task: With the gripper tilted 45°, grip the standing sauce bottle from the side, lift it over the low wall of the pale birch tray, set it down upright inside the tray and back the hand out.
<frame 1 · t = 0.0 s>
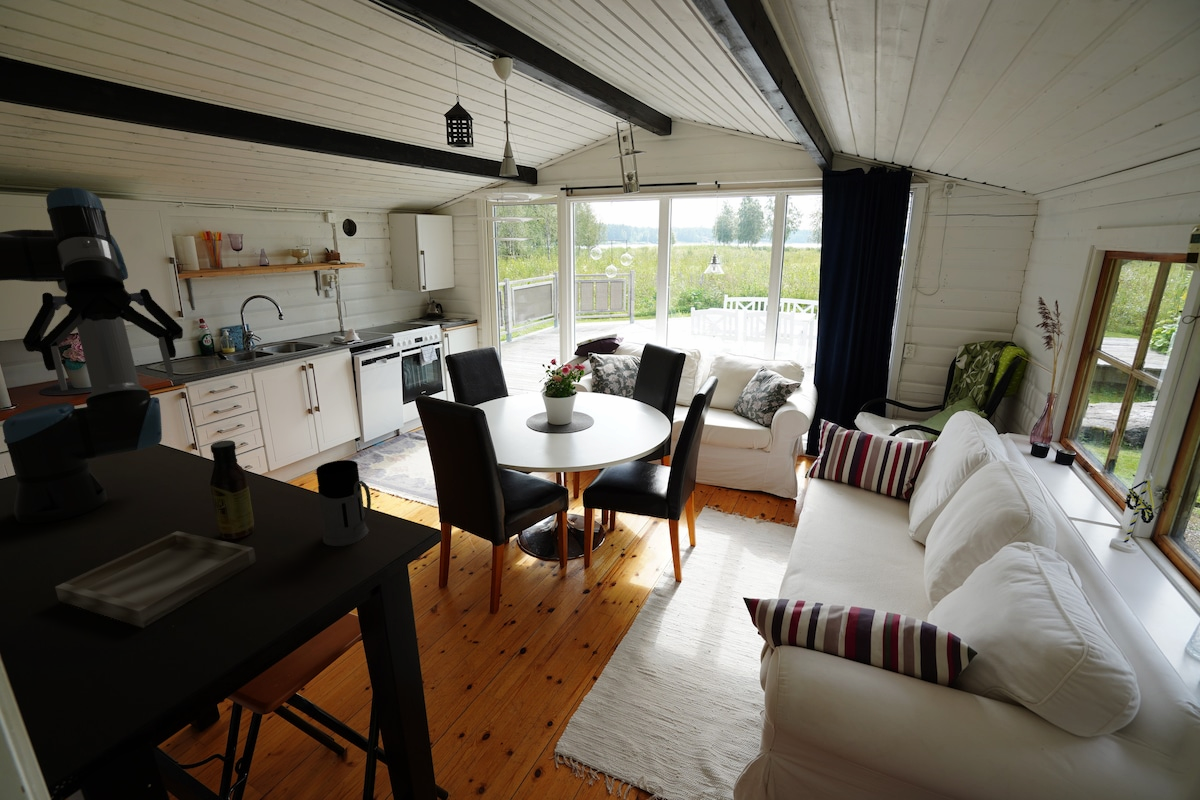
hand: (119, 380, 93), 36 cm above the table, tool tilted 35°, fingers open, 13 cm apart
sauce bottle: (238, 534, 116), on the table
glass holder: (353, 539, 114), on the table
birch tray: (163, 581, 100), on the table
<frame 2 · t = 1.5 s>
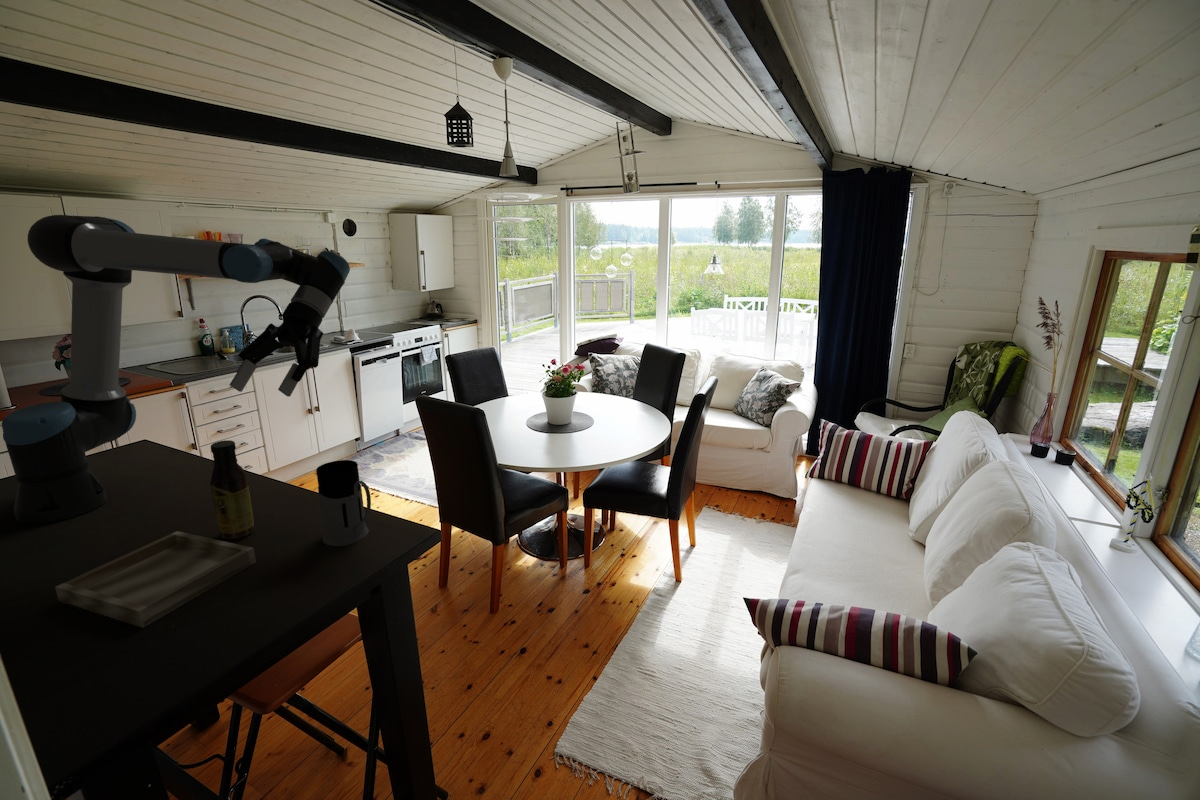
hand: (259, 390, 118), 28 cm above the table, tool tilted 45°, fingers open, 13 cm apart
nothing on the table moved.
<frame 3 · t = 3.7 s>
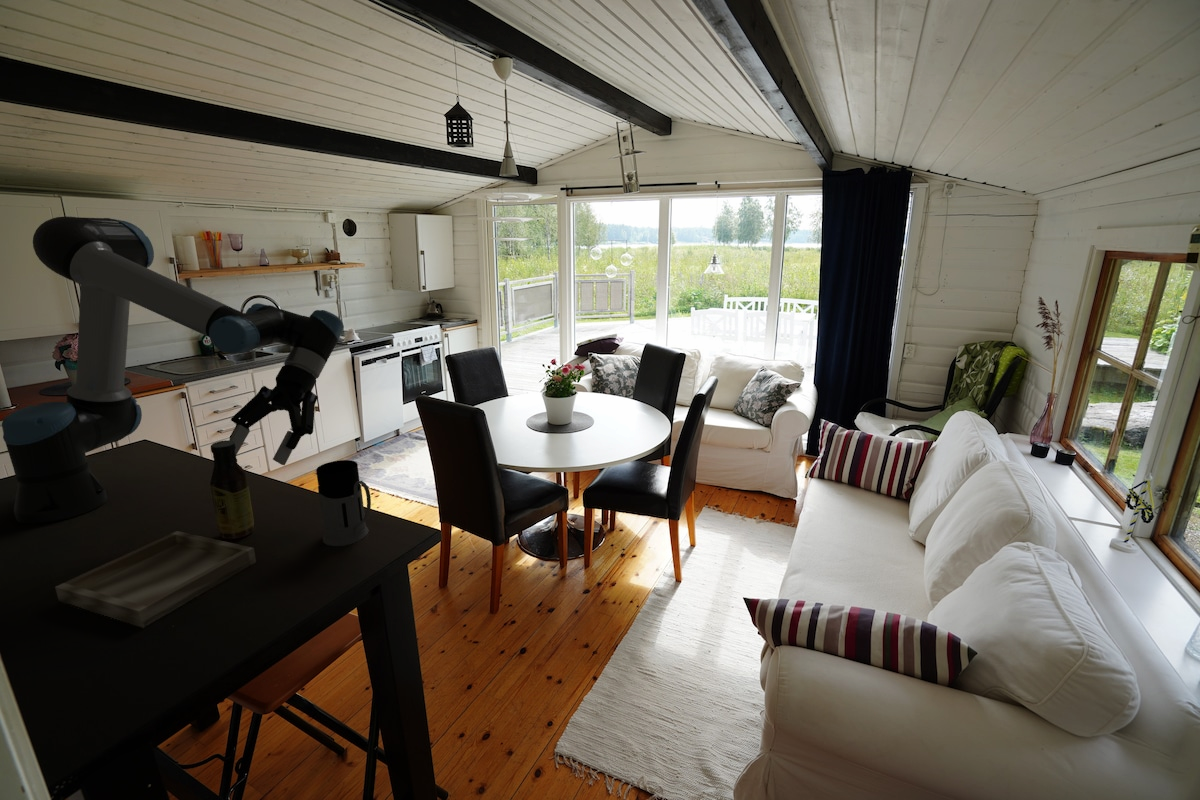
hand: (253, 458, 117), 15 cm above the table, tool tilted 45°, fingers open, 13 cm apart
nothing on the table moved.
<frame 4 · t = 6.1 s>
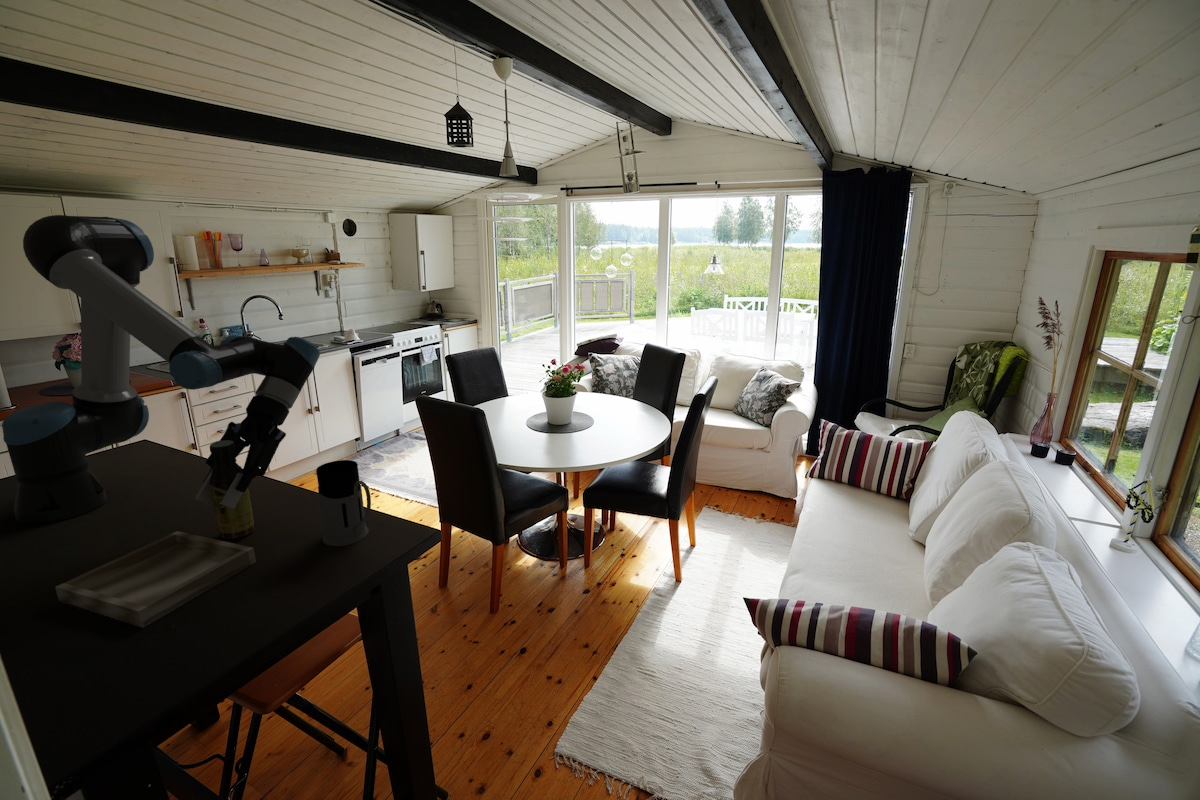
hand: (214, 503, 111), 8 cm above the table, tool tilted 45°, fingers closed on sauce bottle, 6 cm apart
sauce bottle: (238, 534, 116), on the table, touching gripper
everything else where it was.
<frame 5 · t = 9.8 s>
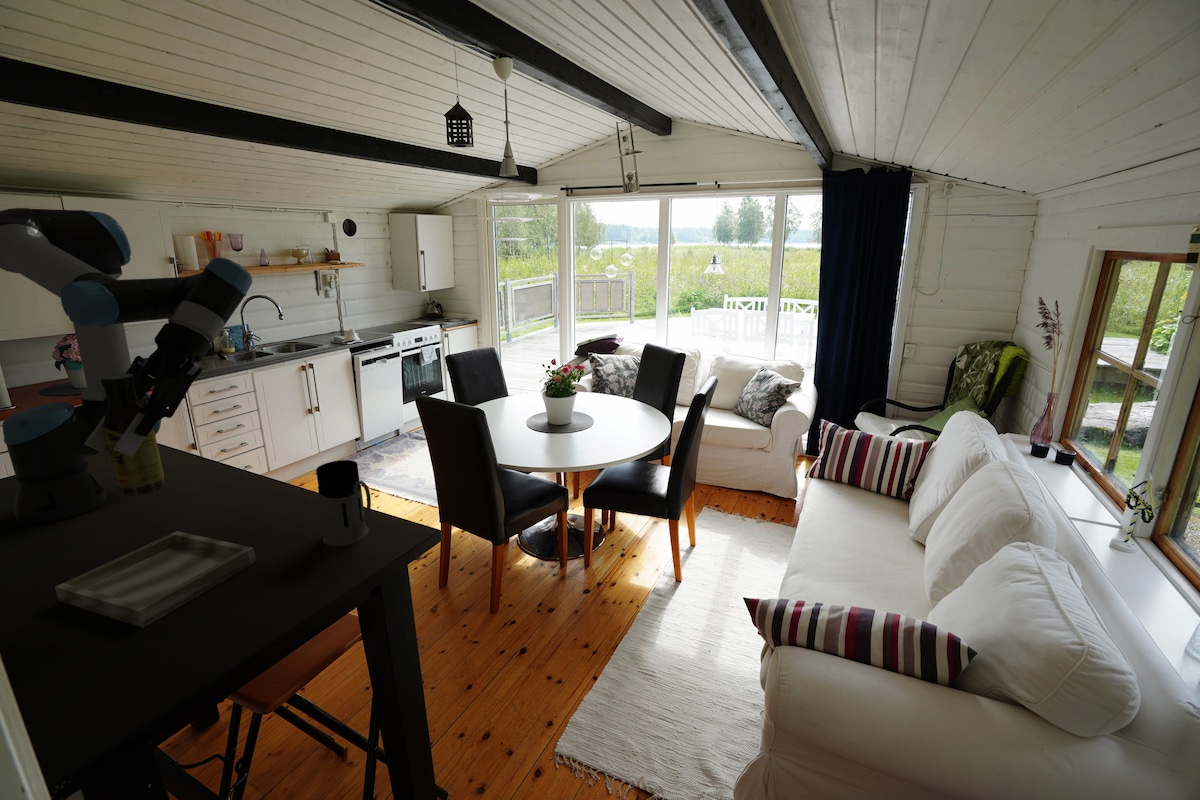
hand: (108, 450, 90), 26 cm above the table, tool tilted 45°, fingers closed on sauce bottle, 6 cm apart
sauce bottle: (144, 491, 95), point 17 cm above the table, touching gripper
everything else where it was.
when the fingers open (11 cm above the table, at t = 13.5 s): sauce bottle drops 1 cm, resting on birch tray.
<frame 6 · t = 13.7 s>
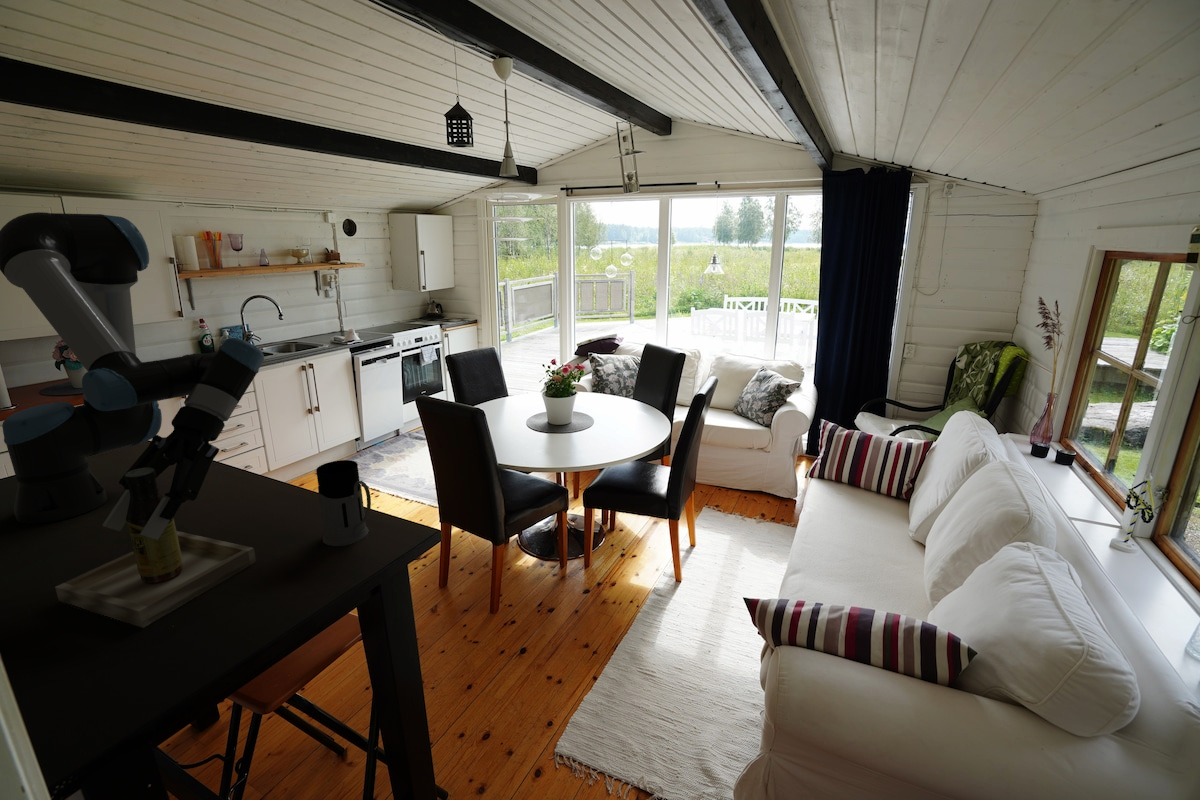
hand: (129, 532, 94), 11 cm above the table, tool tilted 45°, fingers open, 8 cm apart
sauce bottle: (163, 576, 100), point 1 cm above the table, touching birch tray
everything else where it was.
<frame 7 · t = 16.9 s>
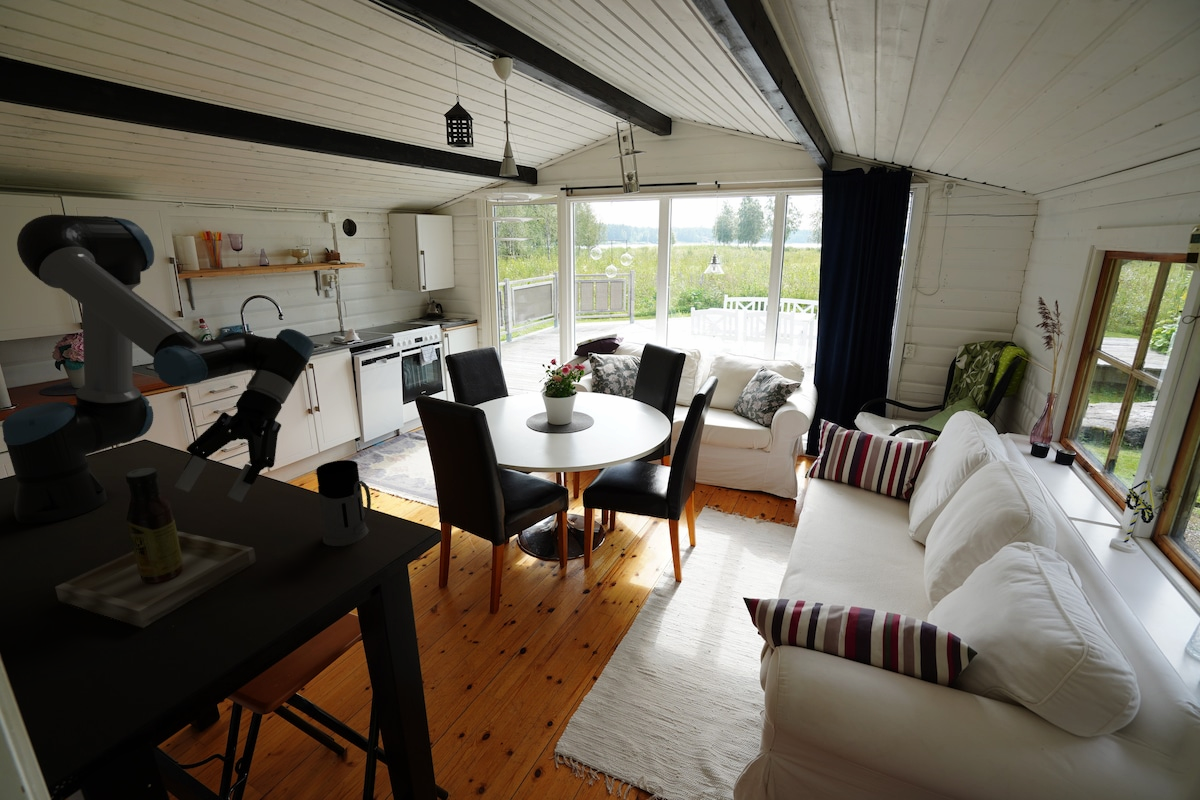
hand: (207, 494, 106), 12 cm above the table, tool tilted 45°, fingers open, 13 cm apart
nothing on the table moved.
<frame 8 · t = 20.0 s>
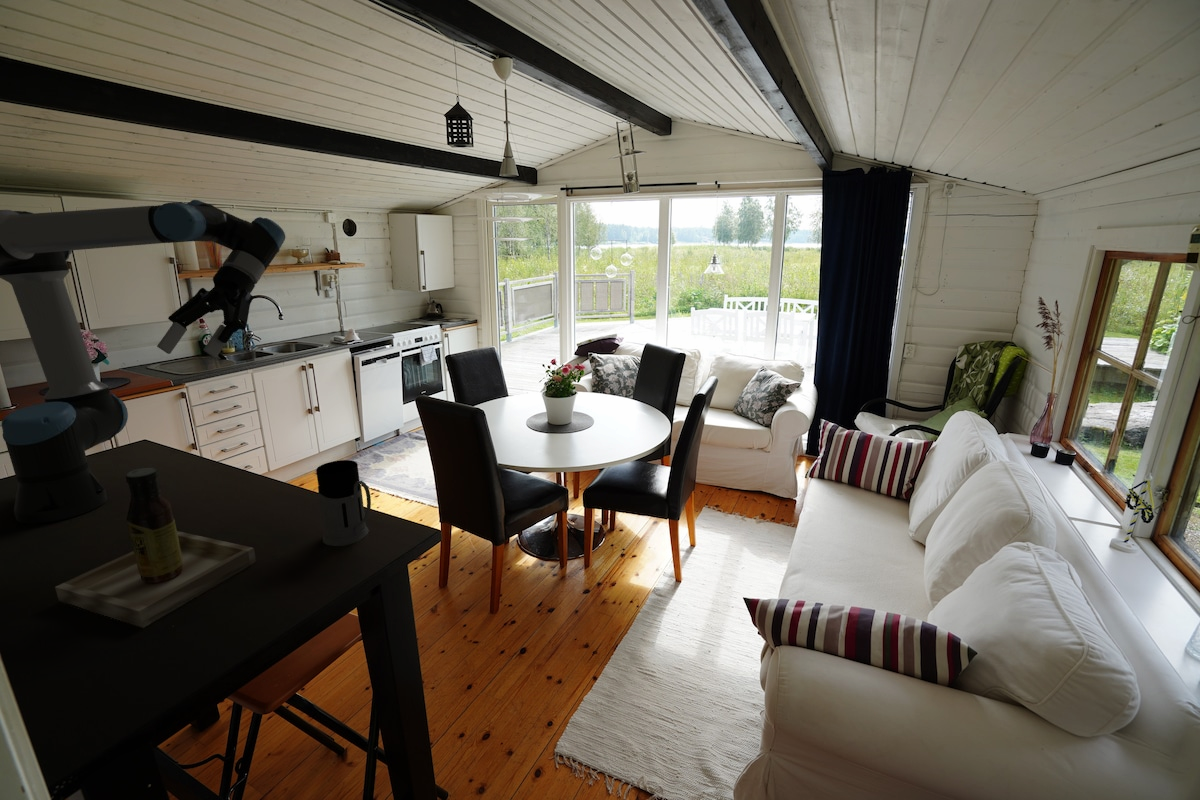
hand: (186, 352, 119), 36 cm above the table, tool tilted 45°, fingers open, 13 cm apart
nothing on the table moved.
at the end: sauce bottle inside the target area on the birch tray (0.1 cm from its centre), point 0.8 cm above the birch tray's base; sauce bottle tilted 0°; the gripper is holding nothing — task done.
